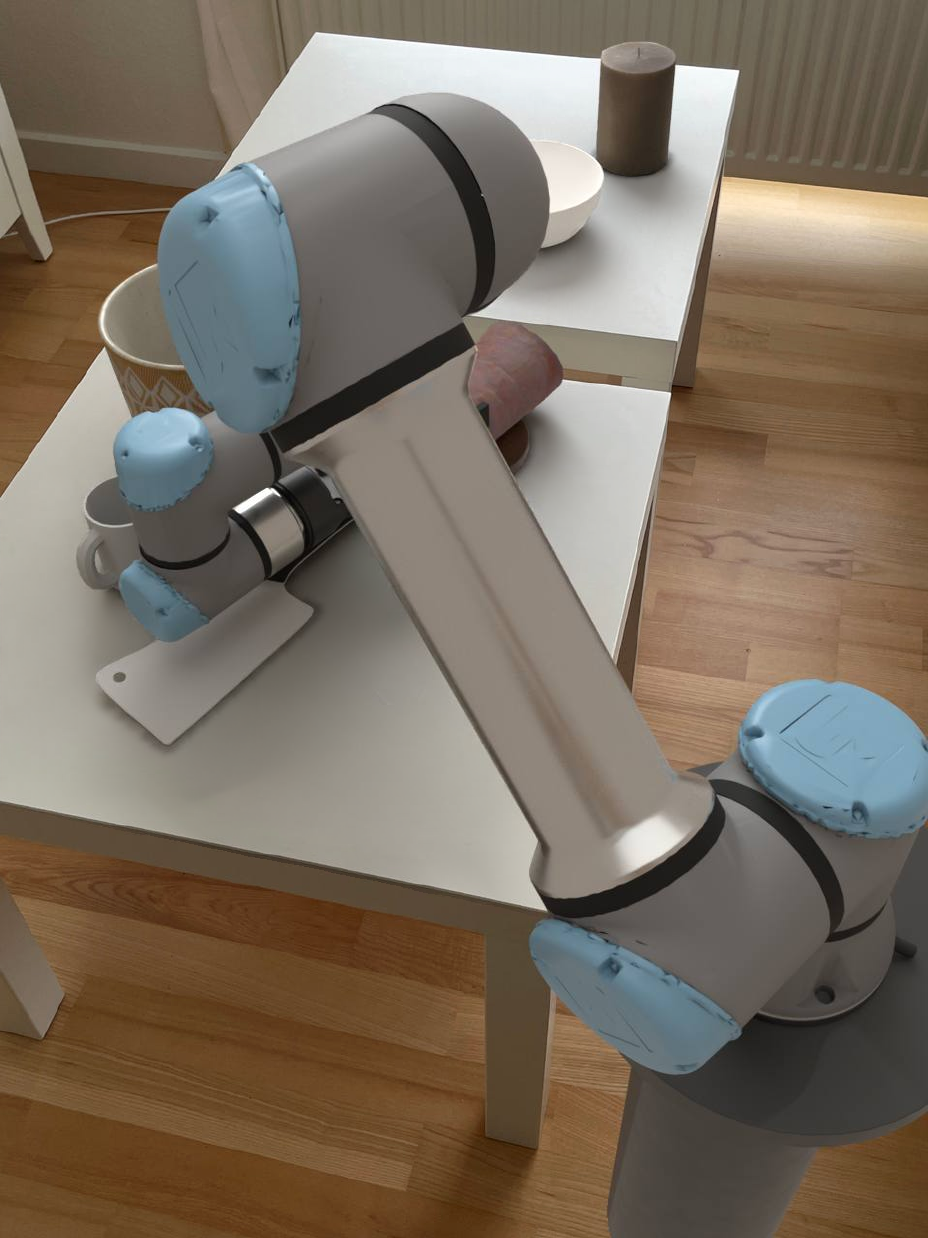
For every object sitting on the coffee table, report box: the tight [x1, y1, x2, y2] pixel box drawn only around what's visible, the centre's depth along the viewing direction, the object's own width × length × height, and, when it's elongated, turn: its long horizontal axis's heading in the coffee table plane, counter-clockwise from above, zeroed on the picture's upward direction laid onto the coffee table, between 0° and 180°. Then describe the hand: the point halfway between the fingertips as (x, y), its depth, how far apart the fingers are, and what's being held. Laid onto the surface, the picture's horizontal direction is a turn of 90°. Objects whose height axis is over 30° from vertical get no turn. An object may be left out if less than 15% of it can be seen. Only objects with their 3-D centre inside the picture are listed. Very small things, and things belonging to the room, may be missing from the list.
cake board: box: [495, 418, 530, 475], centre depth 129 cm, size 14×14×1 cm
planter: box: [97, 262, 215, 419], centre depth 125 cm, size 19×19×16 cm
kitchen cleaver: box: [95, 516, 355, 746], centre depth 114 cm, size 31×2×10 cm
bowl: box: [481, 139, 605, 249], centre depth 154 cm, size 18×18×7 cm
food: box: [469, 320, 564, 441], centre depth 124 cm, size 21×9×9 cm, turn 148°
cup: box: [75, 474, 141, 591], centre depth 114 cm, size 7×10×9 cm
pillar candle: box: [595, 41, 677, 177], centre depth 163 cm, size 10×10×15 cm
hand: (456, 397), depth 122 cm, fingers closed on food, 7 cm apart
